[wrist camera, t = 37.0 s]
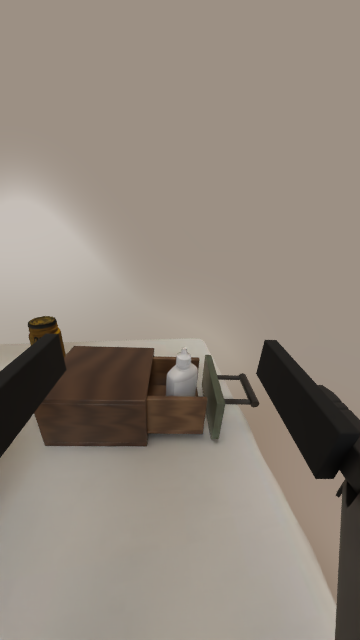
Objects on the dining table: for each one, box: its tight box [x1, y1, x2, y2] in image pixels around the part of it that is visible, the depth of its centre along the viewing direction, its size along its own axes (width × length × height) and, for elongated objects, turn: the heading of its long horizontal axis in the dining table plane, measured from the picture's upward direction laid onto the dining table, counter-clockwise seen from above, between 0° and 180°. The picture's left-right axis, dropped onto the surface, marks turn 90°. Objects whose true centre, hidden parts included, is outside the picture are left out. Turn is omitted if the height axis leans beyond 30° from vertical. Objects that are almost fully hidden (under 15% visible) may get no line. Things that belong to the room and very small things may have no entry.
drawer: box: [146, 355, 259, 439], centre depth 37 cm, size 21×12×8 cm, turn 92°
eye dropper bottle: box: [166, 347, 198, 397], centre depth 35 cm, size 4×6×12 cm
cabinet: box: [34, 346, 154, 446], centre depth 36 cm, size 16×14×10 cm
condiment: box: [28, 316, 67, 357], centre depth 46 cm, size 7×8×12 cm
